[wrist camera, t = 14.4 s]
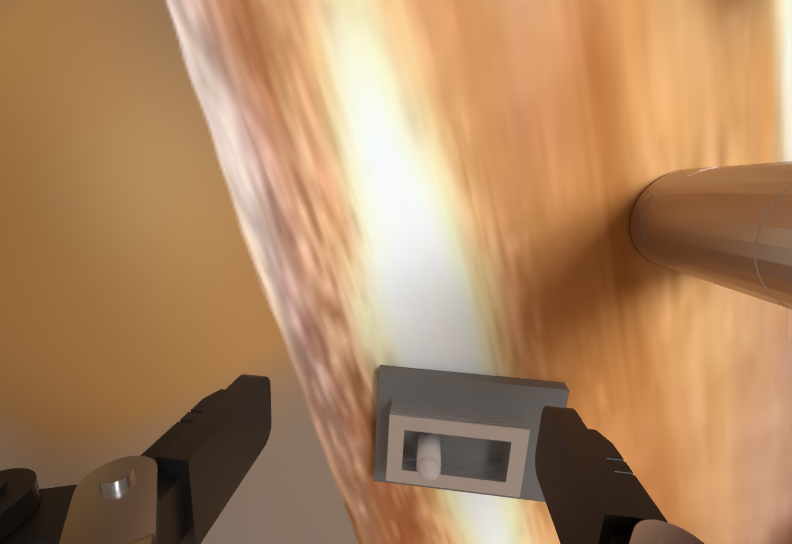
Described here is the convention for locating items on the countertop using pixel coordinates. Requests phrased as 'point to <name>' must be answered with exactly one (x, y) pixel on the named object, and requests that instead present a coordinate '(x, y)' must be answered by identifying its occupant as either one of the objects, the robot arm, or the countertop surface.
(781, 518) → the countertop surface
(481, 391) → the board
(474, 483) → the steel link
